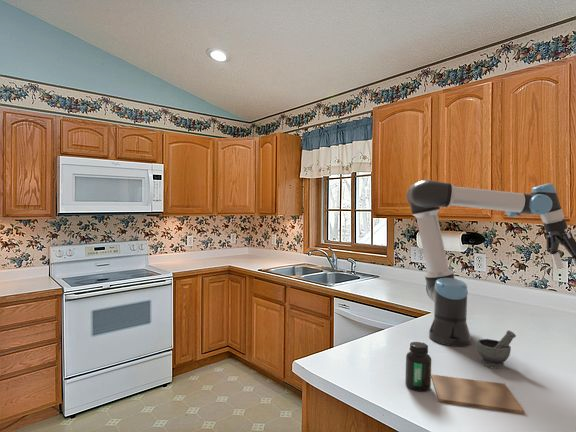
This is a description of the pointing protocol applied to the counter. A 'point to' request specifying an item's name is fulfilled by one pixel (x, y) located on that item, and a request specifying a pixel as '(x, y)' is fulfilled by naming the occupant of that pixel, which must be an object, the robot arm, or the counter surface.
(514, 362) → the counter surface
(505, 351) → the mortar and pestle
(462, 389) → the cutting board
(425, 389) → the supplement bottle
